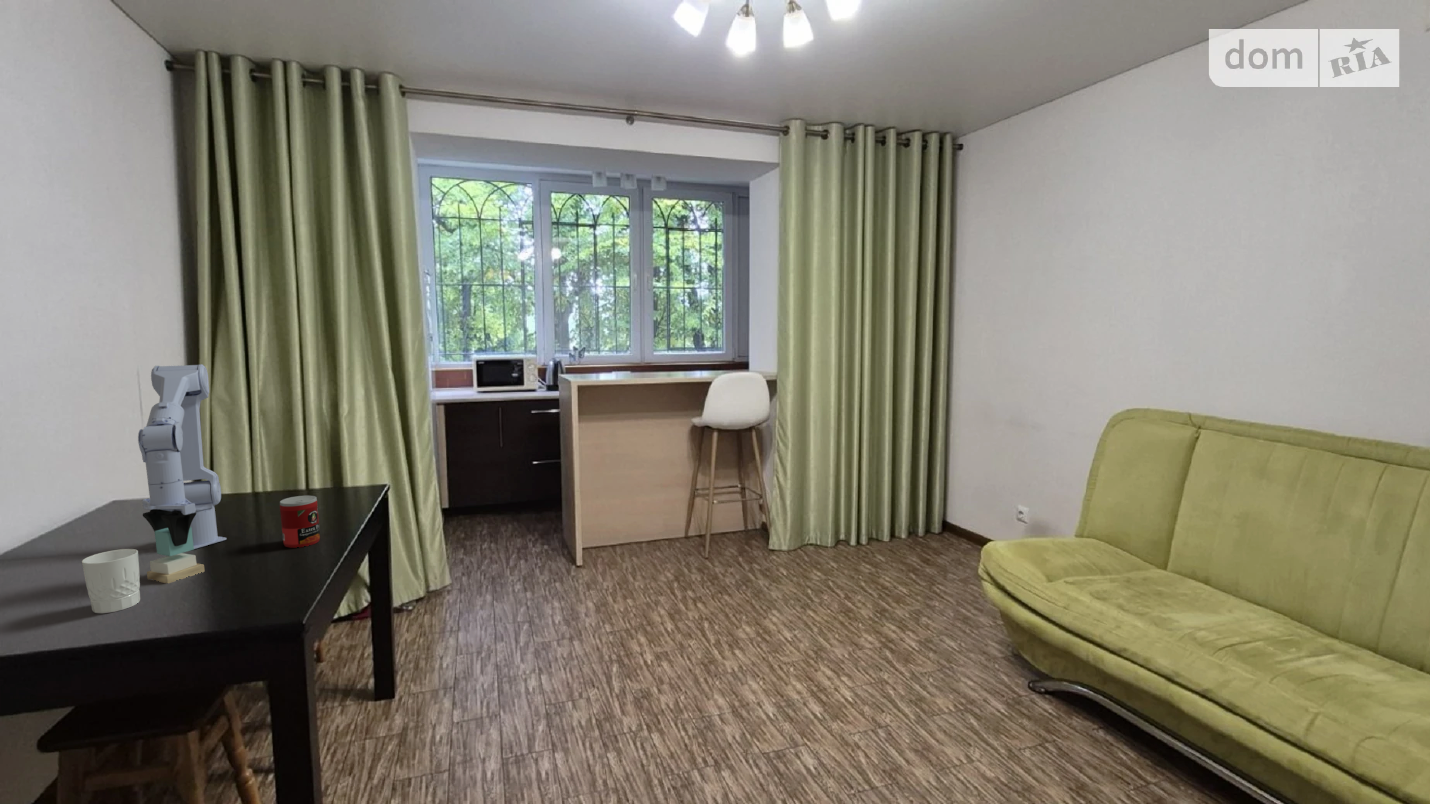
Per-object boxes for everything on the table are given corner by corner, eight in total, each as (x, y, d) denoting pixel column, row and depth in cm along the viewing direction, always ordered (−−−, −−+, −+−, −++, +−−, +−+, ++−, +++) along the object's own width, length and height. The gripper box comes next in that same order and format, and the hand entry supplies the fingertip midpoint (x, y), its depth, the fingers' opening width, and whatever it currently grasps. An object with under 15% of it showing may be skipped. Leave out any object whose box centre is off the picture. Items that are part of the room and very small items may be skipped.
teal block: (157, 553, 139) (154, 531, 138) (180, 547, 143) (178, 524, 142) (170, 556, 137) (167, 533, 136) (193, 549, 141) (191, 527, 141)
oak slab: (148, 581, 138) (146, 571, 138) (184, 570, 145) (183, 560, 145) (168, 586, 136) (166, 576, 135) (204, 574, 142) (203, 564, 142)
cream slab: (151, 571, 138) (149, 561, 138) (179, 562, 143) (178, 552, 143) (168, 574, 136) (167, 564, 136) (196, 564, 142) (195, 555, 141)
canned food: (303, 549, 156) (299, 504, 154) (275, 547, 157) (270, 503, 156) (328, 538, 163) (324, 496, 162) (301, 537, 165) (297, 494, 163)
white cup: (111, 598, 128) (105, 549, 127) (154, 596, 129) (148, 547, 128) (76, 616, 121) (69, 564, 119) (122, 614, 121) (115, 562, 120)
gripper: (122, 483, 137) (130, 545, 138) (165, 488, 132) (172, 553, 133) (161, 475, 143) (168, 535, 145) (203, 480, 138) (210, 542, 140)
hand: (173, 543), depth 139 cm, fingers closed on teal block, 4 cm apart
